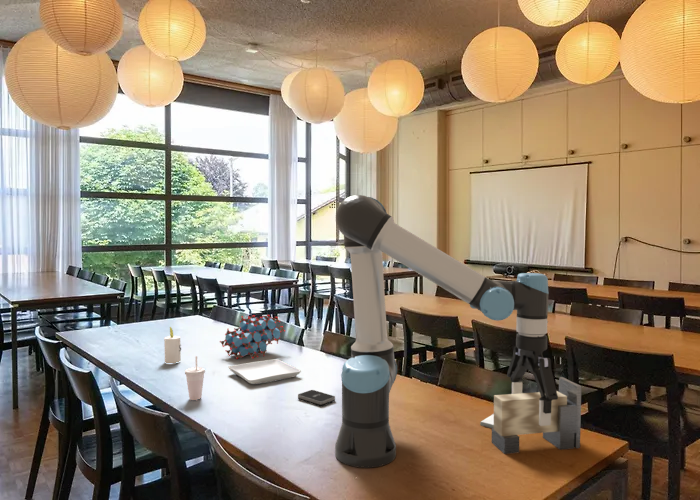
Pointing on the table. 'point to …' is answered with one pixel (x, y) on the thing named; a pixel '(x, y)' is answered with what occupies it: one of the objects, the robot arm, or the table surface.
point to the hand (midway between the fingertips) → (530, 415)
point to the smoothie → (195, 381)
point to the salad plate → (264, 371)
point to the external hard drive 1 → (316, 397)
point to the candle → (172, 348)
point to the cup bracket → (567, 417)
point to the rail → (523, 414)
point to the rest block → (505, 442)
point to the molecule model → (252, 336)
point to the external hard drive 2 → (488, 421)
